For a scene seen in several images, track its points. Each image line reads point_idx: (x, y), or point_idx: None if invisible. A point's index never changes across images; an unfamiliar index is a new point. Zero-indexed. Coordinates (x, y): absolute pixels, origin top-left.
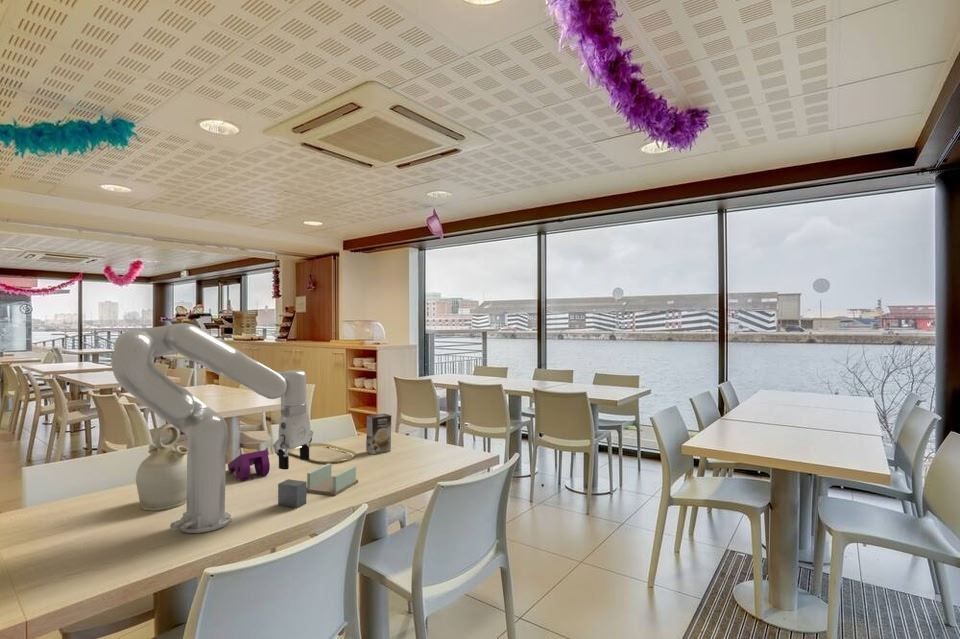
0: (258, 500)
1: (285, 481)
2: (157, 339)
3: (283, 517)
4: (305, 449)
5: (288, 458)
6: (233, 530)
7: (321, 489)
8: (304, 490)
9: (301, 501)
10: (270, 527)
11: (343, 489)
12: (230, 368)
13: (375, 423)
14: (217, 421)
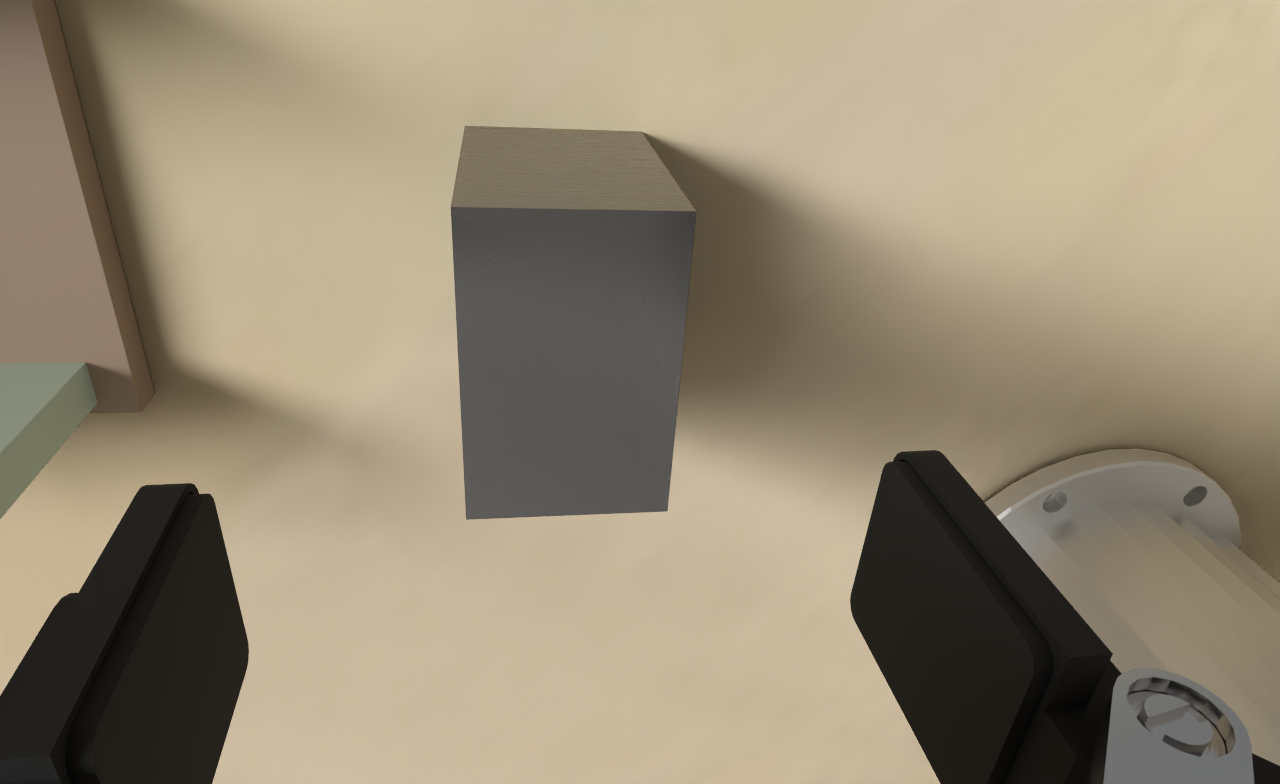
0: (561, 601)
1: (559, 491)
2: None
3: (886, 114)
4: (124, 770)
5: (1026, 608)
6: (1176, 338)
7: (25, 192)
8: (502, 173)
9: (562, 141)
10: (1131, 72)
11: None
12: None
13: None
14: None
